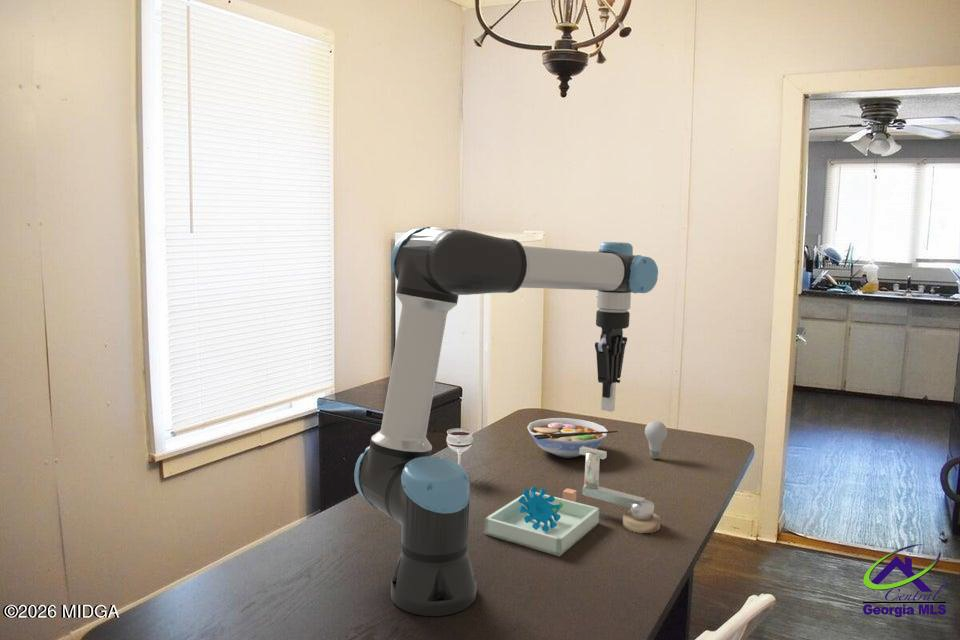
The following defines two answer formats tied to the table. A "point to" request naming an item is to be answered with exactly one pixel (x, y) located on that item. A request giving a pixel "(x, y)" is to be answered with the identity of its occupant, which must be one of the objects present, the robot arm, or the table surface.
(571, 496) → the post
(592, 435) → the ramen bowl
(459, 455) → the wineglass
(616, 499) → the crank
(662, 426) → the lightbulb
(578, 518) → the tray
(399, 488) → the robot arm
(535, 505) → the gear
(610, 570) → the table surface
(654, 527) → the crank pedestal
